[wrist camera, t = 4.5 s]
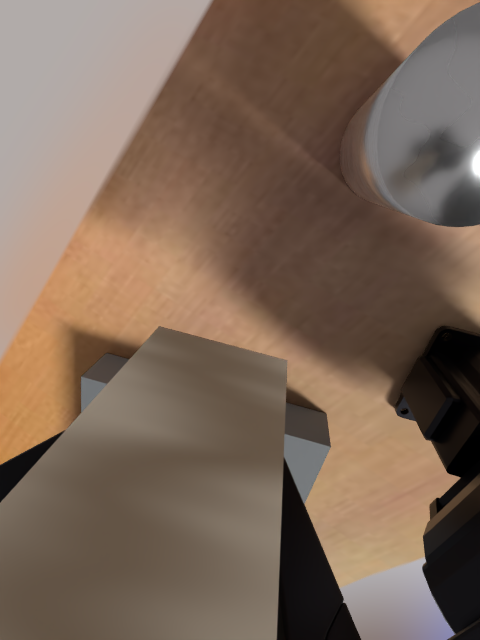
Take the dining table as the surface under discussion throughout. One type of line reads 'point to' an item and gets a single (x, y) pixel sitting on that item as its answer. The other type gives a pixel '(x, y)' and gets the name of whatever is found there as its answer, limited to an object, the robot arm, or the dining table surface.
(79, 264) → the dining table surface
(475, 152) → the steel round peg
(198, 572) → the square peg
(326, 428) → the socket block
